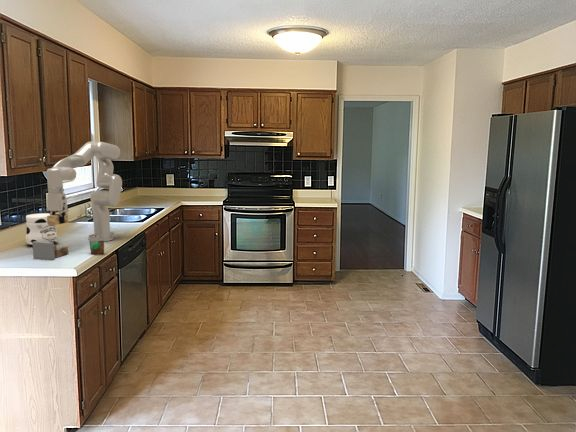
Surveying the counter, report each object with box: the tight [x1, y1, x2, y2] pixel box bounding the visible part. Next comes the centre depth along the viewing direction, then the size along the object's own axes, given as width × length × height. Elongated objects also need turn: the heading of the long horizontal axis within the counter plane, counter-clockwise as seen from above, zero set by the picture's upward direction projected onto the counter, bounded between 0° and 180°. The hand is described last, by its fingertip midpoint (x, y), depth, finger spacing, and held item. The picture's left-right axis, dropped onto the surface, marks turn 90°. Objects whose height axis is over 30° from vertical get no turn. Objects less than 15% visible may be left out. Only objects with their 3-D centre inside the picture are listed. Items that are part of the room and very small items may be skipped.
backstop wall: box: [32, 241, 56, 261], centre depth 251 cm, size 2×12×9 cm, turn 74°
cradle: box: [54, 245, 69, 258], centre depth 260 cm, size 9×8×4 cm
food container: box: [87, 233, 105, 256], centre depth 265 cm, size 12×6×10 cm, turn 45°
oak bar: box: [47, 213, 69, 226], centre depth 265 cm, size 10×4×5 cm, turn 158°
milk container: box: [25, 212, 59, 247], centre depth 285 cm, size 17×17×18 cm
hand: (58, 222), depth 266 cm, fingers closed on oak bar, 4 cm apart
